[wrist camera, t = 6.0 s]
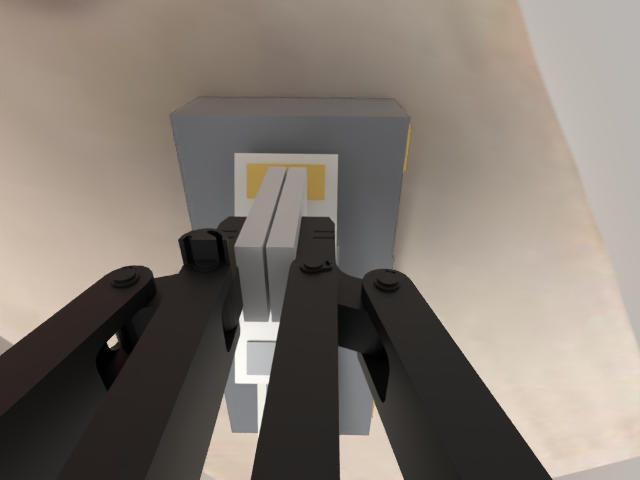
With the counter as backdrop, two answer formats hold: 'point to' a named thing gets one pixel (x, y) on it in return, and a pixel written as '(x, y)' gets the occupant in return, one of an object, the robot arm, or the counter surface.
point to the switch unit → (352, 196)
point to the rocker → (248, 177)
